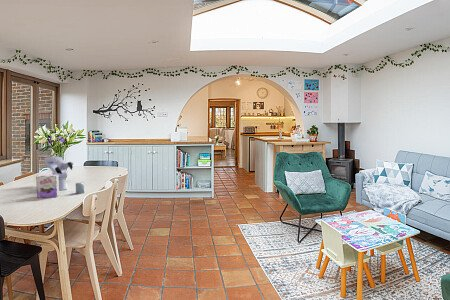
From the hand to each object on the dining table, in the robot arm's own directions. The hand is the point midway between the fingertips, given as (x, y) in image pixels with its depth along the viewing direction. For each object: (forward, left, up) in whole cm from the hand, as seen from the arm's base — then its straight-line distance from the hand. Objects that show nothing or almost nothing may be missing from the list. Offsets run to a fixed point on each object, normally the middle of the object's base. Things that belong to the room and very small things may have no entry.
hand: (66, 170), depth 241 cm
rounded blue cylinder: (+4, +8, -18) cm, 21 cm away
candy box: (+2, -14, -18) cm, 23 cm away
